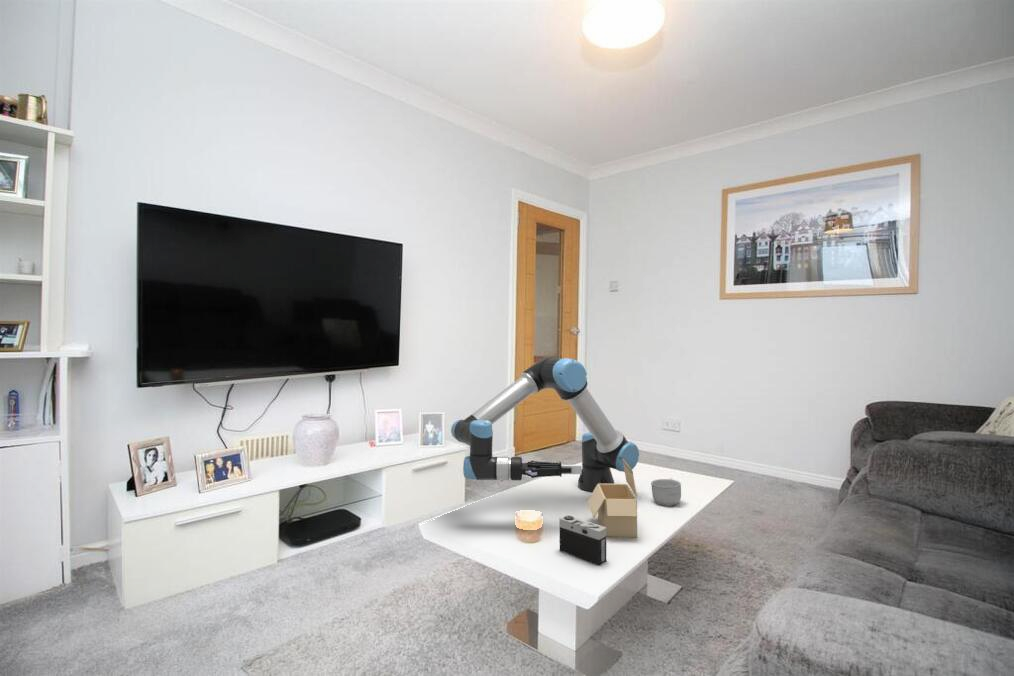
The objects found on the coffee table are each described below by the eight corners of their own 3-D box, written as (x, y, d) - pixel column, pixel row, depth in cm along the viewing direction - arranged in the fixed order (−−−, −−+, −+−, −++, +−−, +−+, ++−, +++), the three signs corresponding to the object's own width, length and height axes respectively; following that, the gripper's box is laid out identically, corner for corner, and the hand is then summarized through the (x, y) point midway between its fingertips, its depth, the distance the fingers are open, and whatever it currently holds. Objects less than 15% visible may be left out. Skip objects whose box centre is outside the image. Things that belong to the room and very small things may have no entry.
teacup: (673, 510, 176) (673, 488, 176) (646, 503, 184) (646, 482, 184) (689, 500, 187) (689, 479, 187) (662, 494, 194) (662, 474, 194)
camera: (614, 556, 139) (614, 522, 139) (598, 566, 133) (598, 530, 133) (575, 542, 149) (574, 510, 149) (558, 551, 143) (558, 517, 143)
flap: (636, 496, 152) (631, 471, 152) (626, 481, 168) (622, 458, 168) (637, 496, 152) (632, 470, 152) (627, 481, 168) (623, 458, 168)
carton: (594, 540, 150) (594, 501, 150) (586, 515, 171) (586, 481, 171) (639, 541, 149) (638, 502, 149) (625, 516, 170) (625, 481, 171)
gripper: (510, 474, 168) (579, 475, 167) (509, 485, 155) (583, 486, 154) (510, 452, 168) (579, 453, 167) (509, 462, 155) (583, 463, 154)
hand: (581, 469), depth 161 cm, fingers closed
